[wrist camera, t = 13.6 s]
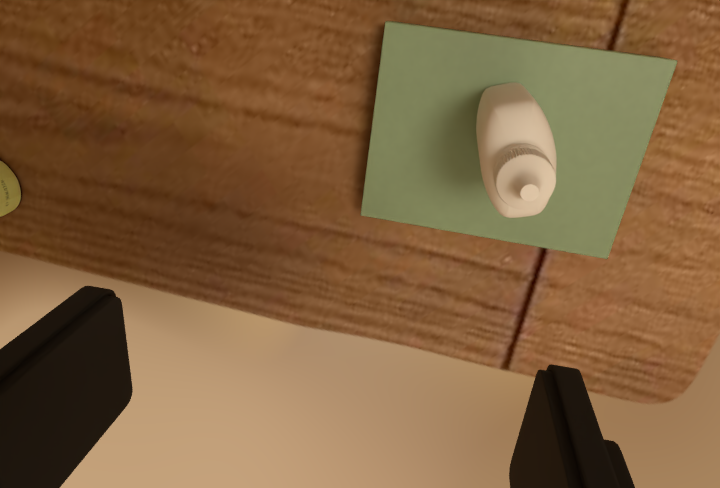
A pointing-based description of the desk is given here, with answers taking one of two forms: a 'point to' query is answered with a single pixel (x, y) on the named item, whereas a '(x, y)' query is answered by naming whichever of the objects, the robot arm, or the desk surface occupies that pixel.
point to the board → (459, 140)
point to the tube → (8, 190)
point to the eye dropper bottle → (515, 151)
